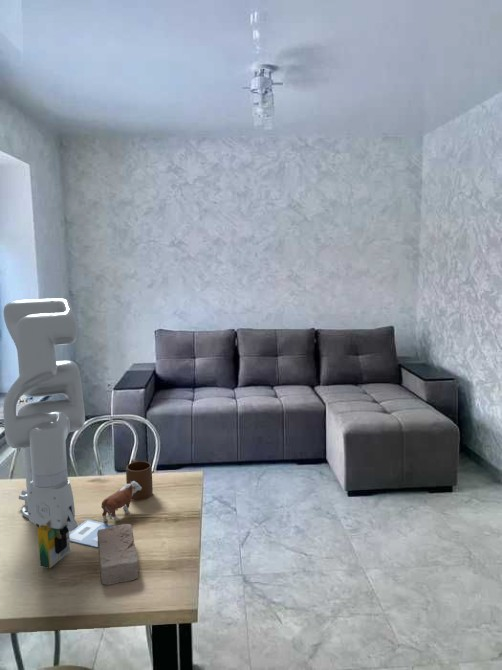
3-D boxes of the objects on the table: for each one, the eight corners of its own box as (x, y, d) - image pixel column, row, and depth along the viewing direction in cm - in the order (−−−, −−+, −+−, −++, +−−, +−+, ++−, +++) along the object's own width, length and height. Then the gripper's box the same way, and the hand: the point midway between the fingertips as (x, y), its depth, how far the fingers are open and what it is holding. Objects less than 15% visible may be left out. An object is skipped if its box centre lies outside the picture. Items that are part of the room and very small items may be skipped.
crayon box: (60, 548, 124) (58, 504, 122) (71, 551, 123) (68, 507, 121) (39, 566, 117) (36, 520, 115) (49, 569, 116) (46, 523, 114)
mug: (121, 486, 159) (120, 458, 158) (145, 481, 162) (144, 454, 161) (130, 503, 149) (128, 473, 147) (155, 498, 152) (154, 468, 150)
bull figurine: (144, 506, 147) (143, 480, 145) (108, 527, 136) (106, 499, 134) (134, 502, 149) (133, 476, 148) (97, 522, 138) (95, 494, 137)
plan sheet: (62, 539, 130) (62, 538, 130) (87, 520, 139) (87, 519, 139) (108, 550, 125) (108, 549, 125) (131, 529, 135) (131, 528, 134)
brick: (140, 578, 114) (139, 560, 114) (101, 586, 112) (100, 567, 111) (131, 539, 130) (131, 522, 129) (97, 545, 127) (96, 528, 126)
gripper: (9, 477, 116) (15, 550, 119) (67, 490, 110) (72, 566, 114) (33, 463, 123) (39, 533, 126) (90, 475, 117) (93, 547, 120)
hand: (55, 547), depth 120 cm, fingers closed on crayon box, 3 cm apart
